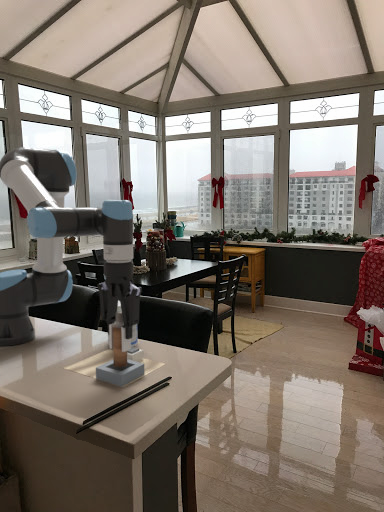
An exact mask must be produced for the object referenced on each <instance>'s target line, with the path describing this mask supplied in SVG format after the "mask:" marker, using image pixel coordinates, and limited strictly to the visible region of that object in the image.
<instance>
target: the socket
mask: <svg viewBox="0 0 384 512" xmlns="http://www.w3.org/2000/svg"><path fill="white" fill-rule="evenodd" d="M143 375H144V364H143V363H140V362H136V361H132V360H129V359H127V365H126V366H124V367H115V366H114V361H113V360H111V361H109V362H107V363H105V364H103V365H101V366H98V367H96V379H95V380H98V379H99V381H101V380H102V382H104V381H105V383H108V384H111V385H113V386H117V387H120V386H121V387H120V388H123V386H124V385H126V384H128V383H130V382H132V381H134V380H135V379H137V378H139V377H141V376H143ZM143 377H144V376H143ZM134 382H135V381H134Z"/></svg>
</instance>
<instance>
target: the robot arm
mask: <svg viewBox="0 0 384 512" xmlns="http://www.w3.org/2000/svg"><path fill="white" fill-rule="evenodd" d="M0 180H1V181H2V183H3V184H4V185H5V186H6V187H7V188H9V189H11V190H12V192H14V194H15V195H16V197H17V198H18V200H19V201H20V202H21V204H22V205H23V207H24V208H25V210H26V211H27V219H26V221H27V222H26V223H27V228H28V232H29V234H30V235H31V236H32V237H33V238H36V239H37V242H36V244H37V245H36V246H37V247H36V252H37V253H36V262H35V263H34V264H33V266H32V267H31V268H32V269H31V270H32V271H31V272H29V273H28V272H27V270H25V269H21V268H20V269H11V270H5V271H2V272H0V347H5V346H16V345H21V344H25V343H27V342H30V341H32V340H33V339H34V338H35V337H36V332H35V328H34V325H33V323H32V321H31V318H30V316H29V308H30V307H36V306H43V305H49V304H58V303H61V302H65V301H67V300H68V299H69V297H70V296H71V295H72V291H73V284H74V281H73V275H72V273H71V271H70V270H69V269H67V265H66V264H64V262H63V260H64V259H63V257H64V255H63V254H64V238H65V237H66V238H68V237H90V236H91V237H92V236H94V237H95V236H102V245H103V248H102V249H103V260H104V261H103V275H104V276H105V280H104V282H101V283H97V284H96V286H97V290H98V293H99V304H100V305H99V307H100V308H99V309H100V319H101V321H105V322H106V324H107V336H108V335H109V339H110V346H109V349H110V350H113V327H115V326H116V322H115V321H116V312H117V307H118V300H119V301H120V304H121V310H122V317H123V323H124V325H123V326H122V327H121V333H122V352H125V351H128V350H130V349H131V338H132V336H133V333H132V327H133V325H136V324H137V325H138V324H139V323H140V304H141V303H140V302H141V294H142V292H143V288H142V287H141V286H138V287H137V286H136V285H135V284H134V281H133V276H134V273H135V272H134V271H135V270H134V262H133V259H134V214H133V203H132V202H131V201H130V200H127V199H104V200H103V201H102V206H92V207H65V197H66V195H67V194H69V193H70V187H73V186H75V184H76V181H77V168H76V162H75V160H74V158H73V156H72V155H71V154H70V153H69V152H68V151H65V150H59V149H49V148H33V147H17V148H13V149H10V151H7V152H6V153H5V154H4V155H3V156H2V157H1V159H0ZM128 321H129V322H128Z"/></svg>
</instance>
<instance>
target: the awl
mask: <svg viewBox="0 0 384 512" xmlns="http://www.w3.org/2000/svg"><path fill="white" fill-rule="evenodd" d="M123 325H124V323H123V317H122V312H116V326H115V327H113V349H112V350H113V361H114V366H115V367H124V366H126V365H127V351H125V352H122V333H121V327H122V326H123Z"/></svg>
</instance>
